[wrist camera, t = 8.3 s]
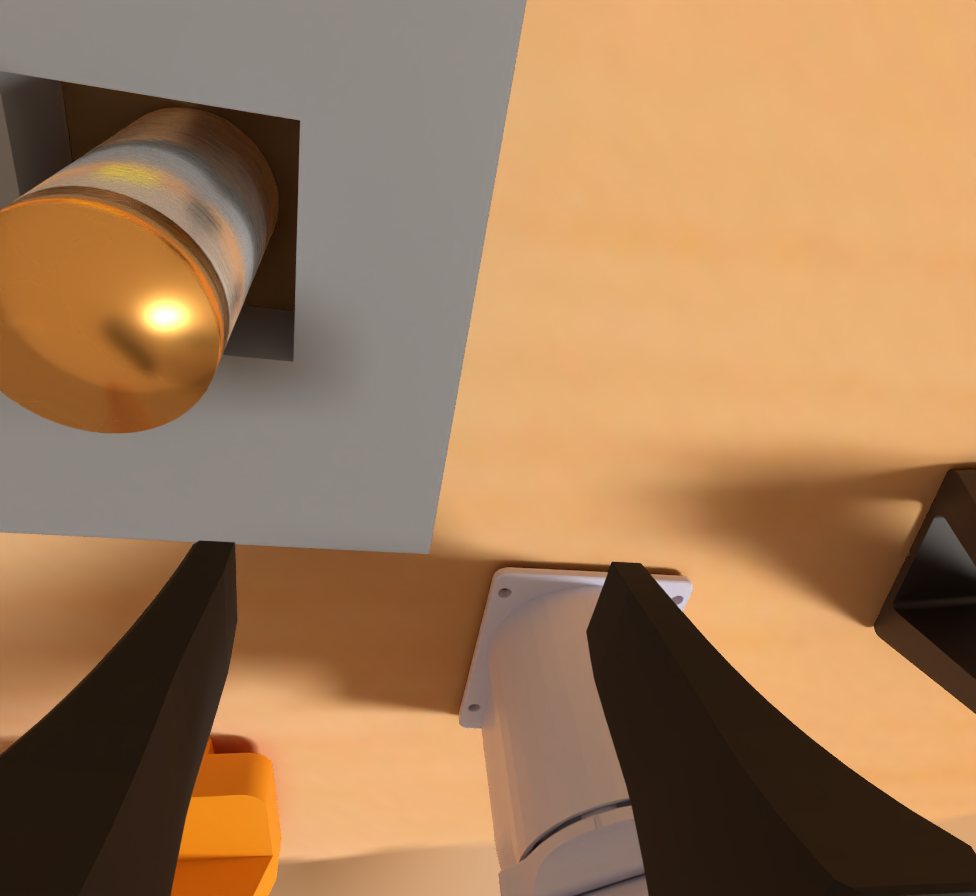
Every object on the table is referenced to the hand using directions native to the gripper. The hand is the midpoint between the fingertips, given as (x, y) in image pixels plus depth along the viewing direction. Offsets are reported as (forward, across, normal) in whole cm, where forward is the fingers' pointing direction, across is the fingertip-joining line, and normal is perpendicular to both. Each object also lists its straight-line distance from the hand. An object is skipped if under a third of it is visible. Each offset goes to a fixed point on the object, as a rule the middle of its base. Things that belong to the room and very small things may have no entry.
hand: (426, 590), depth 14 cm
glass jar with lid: (+9, +6, -4) cm, 12 cm away
